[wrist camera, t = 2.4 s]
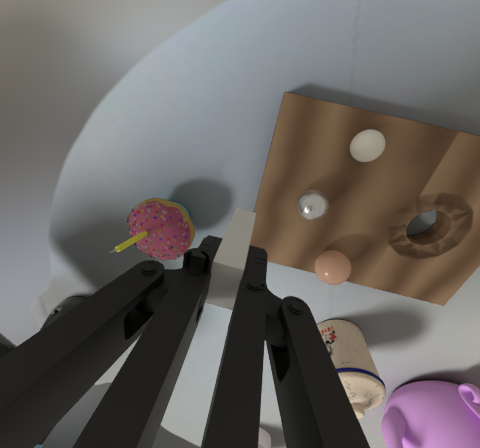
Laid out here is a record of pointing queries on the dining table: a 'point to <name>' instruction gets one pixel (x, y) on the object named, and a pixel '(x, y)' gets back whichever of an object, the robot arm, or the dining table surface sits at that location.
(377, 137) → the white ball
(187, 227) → the cupcake
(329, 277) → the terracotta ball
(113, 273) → the dining table surface
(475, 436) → the teapot
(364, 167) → the wooden board
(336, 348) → the teacup with lid
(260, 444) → the honey pot
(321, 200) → the steel ball
